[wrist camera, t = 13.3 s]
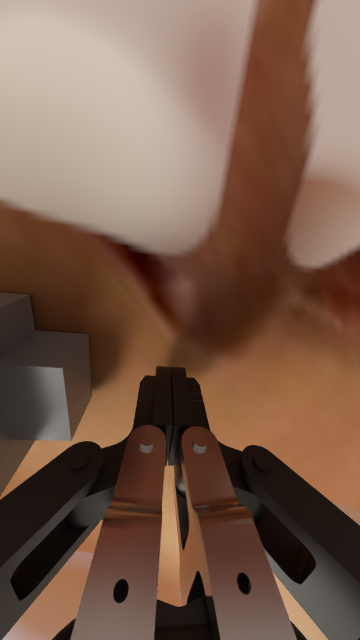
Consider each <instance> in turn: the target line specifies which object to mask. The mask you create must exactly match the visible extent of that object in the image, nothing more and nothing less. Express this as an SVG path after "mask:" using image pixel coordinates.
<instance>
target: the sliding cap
mask: <svg viewBox="0 0 360 640" xmlns="http://www.w3.org/2000/svg"><path fill="white" fill-rule="evenodd" d="M91 396H92V390H91V372H90V355H89V338H88V334H80V333H67V332H54V331H40V330H35V325H34V319H33V314H32V308H31V302H30V296H29V295H26V294H15V293H5V292H0V496H1V494H2V493H3V491H4V489H5V488H6V486H7V485H8V483H9V481H10V480H11V478H12V477H13V475H14V473H15V472H16V470H17V469H18V467H19V465H20V464H21V462H22V461H23V459H24V457H25V456H26V454H27V453H28V451H29V449H30V448H31V446H32V445H33V443H34V441H35V440H61V441H72V438H73V436H74V434H75V432H76V429H77V427H78V425H79V423H80V421H81V418H82V416H83V414H84V412H85V409H86V407H87V405H88V403H89V401H90V398H91Z"/></svg>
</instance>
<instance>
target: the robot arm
mask: <svg viewBox="0 0 360 640" xmlns="http://www.w3.org/2000/svg"><path fill="white" fill-rule="evenodd" d="M167 460H168V465H174V473H175V478H174V484H173V491H174V501H175V511H176V521H177V532H178V542H179V554H180V568H179V575H180V593H181V604H182V607H177V606H173V605H171V604H168V603H165V602H163V601H160V600H157V586H158V572H159V557H160V542H161V527H162V496H163V482H164V469H165V466H167ZM100 520H103V522H102V526H101V529H100V533H99V537H98V540H97V544H96V548H95V551H94V555H93V559H92V562H91V566H90V570H89V573H88V577H87V581H86V584H85V588H84V592H83V595H82V599H81V602H80V606H79V610H78V613H77V617H76V618H75V619H74V620H72V621H71V622H70V623H69V624H68V625H67V626H65V627H64V628H63V629H62V630H61V631H60V632H59V633H58V634H57V635H56V636H55V637H54V638H53V639H52V640H307V639H306V638H305V636H304V635H303V634H302V633H301V632H300V631H299V630H298V629H297V627H296V626H295V625H294V624H293V623H292V622H291V621H290V619H289V616H288V614H287V611H286V608H285V605H284V603H283V600H282V597H281V594H280V592H279V589H278V586H277V583H276V581H275V578H274V575H273V573H274V574H275V575H276V576H277V578H278V579H279V580H280V581H281V582H282V584H283V585H284V586H285V587H286V589H287V590H288V591H289V592H290V593H291V595H292V596H293V597H294V598H295V599H296V601H297V602H298V603H299V604H300V606H301V607H302V608H303V609H304V610H305V612H306V613H307V614H308V615H309V616H310V618H311V619H312V620H313V621H314V623H315V624H316V625H317V626H318V627H319V629H320V630H321V631H322V632H323V633H324V635H325V636H326V637H327V638H328V640H360V526H359V525H358V524H357V523H356V522H355V521H353V520H352V519H351V518H350V517H349V516H347V515H346V514H345V513H344V512H343V511H341V510H340V509H339V508H338V507H337V506H335V505H334V504H333V503H332V502H330V501H329V500H328V499H327V498H326V497H324V496H323V495H322V494H321V493H320V492H318V491H317V490H316V489H315V488H313V487H312V486H311V485H310V484H309V483H307V482H306V481H305V480H304V479H303V478H301V477H300V476H299V475H298V474H296V473H295V472H294V471H293V470H292V469H290V468H289V467H288V466H287V465H286V464H284V463H283V462H282V461H281V460H279V459H278V458H277V457H276V456H275V455H273V454H272V453H271V452H270V451H268V450H267V449H265V448H263V447H261V446H257V445H250V446H247V447H246V448H245V449H244V450H243V452H242V451H239V450H236V449H233V448H231V447H228V446H225V445H224V444H222V443H220V442H219V441H218V440H217V439H216V437H215V435H214V434H213V433H212V432H211V431H210V428H209V424H208V419H207V415H206V411H205V406H204V402H203V398H202V395H201V389H200V385H199V384H198V382H197V381H196V380H195V378H186V371H185V368H181V367H171V370H170V367H163V366H157V367H156V376H147V375H146V376H145V377H144V378H143V379H142V381H141V382H140V387H139V393H138V400H137V406H136V412H135V418H134V424H133V428H132V431H131V433H130V434H129V435H128V436H127V437H126V438H125V439H124V440H123V441H121V442H120V443H118V444H115V445H112V446H109V447H105V448H102V449H101V447H100V446H99V445H98V444H96V443H94V442H90V441H84V442H79V443H77V444H74V445H72V446H71V447H69V448H68V449H66V450H65V451H64V452H62V453H61V454H60V455H59V456H57V457H56V458H55V459H53V460H52V461H51V462H49V463H48V464H47V465H45V466H44V467H43V468H41V469H40V470H39V471H38V472H36V473H35V474H34V475H32V476H31V477H30V478H28V479H27V480H26V481H24V482H23V483H22V484H20V485H19V486H18V487H17V488H15V489H14V490H13V491H11V492H10V493H9V494H7V495H6V496H5V497H3V498H2V499H1V500H0V640H2V639H3V638H4V636H5V635H6V634H7V633H8V632H9V630H10V629H11V628H12V627H13V626H14V624H15V623H16V622H17V621H18V620H19V618H20V617H21V616H22V615H23V614H24V612H25V611H26V610H27V609H28V608H29V606H30V605H31V604H32V603H33V602H34V600H35V599H36V598H37V597H38V596H39V594H40V593H41V592H42V591H43V590H44V588H45V587H46V586H47V585H48V584H49V582H50V581H51V580H52V579H53V578H54V576H55V575H56V574H57V573H58V572H59V570H60V569H61V568H62V567H63V566H64V564H65V563H66V562H67V561H68V559H69V558H70V557H71V556H72V555H73V554H74V552H75V551H76V550H77V549H78V548H79V546H80V545H81V544H82V543H83V542H84V540H85V539H86V538H87V537H88V536H89V534H90V533H91V532H92V531H93V530H94V528H95V527H96V526H97V525H98V523H99V522H100ZM272 571H273V572H272ZM238 585H239V586H238Z"/></svg>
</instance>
